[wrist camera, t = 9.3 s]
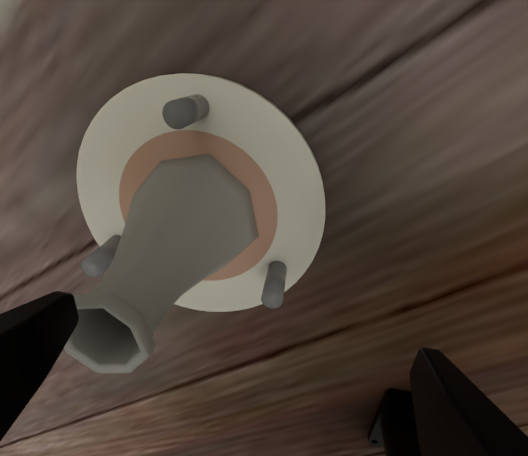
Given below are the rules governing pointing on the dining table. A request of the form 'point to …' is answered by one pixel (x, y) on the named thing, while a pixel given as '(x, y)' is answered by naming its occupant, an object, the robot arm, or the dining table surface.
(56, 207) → the dining table surface
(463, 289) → the dining table surface
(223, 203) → the flask
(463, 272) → the dining table surface
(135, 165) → the pin cradle
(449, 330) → the dining table surface
